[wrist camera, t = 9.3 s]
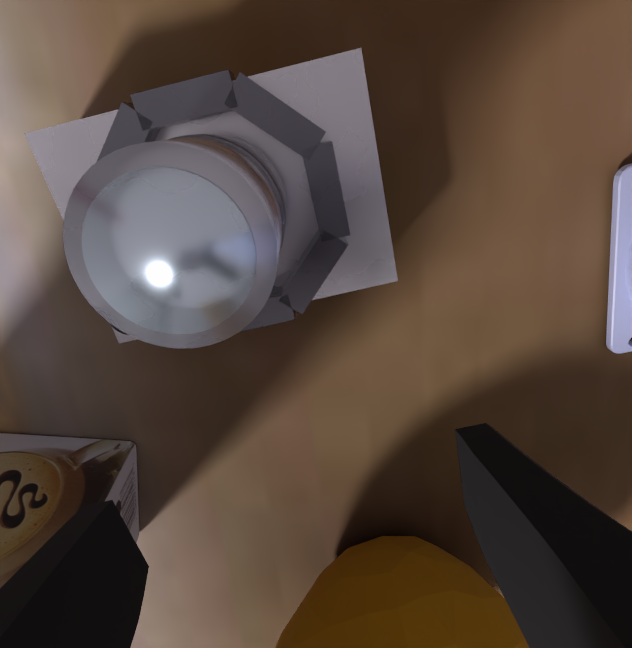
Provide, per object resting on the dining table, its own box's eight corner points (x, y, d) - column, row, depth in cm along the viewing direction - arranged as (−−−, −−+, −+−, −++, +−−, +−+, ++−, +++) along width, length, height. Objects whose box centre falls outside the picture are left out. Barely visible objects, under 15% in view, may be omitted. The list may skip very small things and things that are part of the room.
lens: (277, 124, 13) (261, 124, 7) (295, 259, 15) (293, 342, 9) (139, 141, 13) (20, 153, 8) (173, 273, 15) (96, 364, 9)
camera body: (348, 57, 15) (365, 34, 11) (383, 261, 18) (405, 294, 14) (69, 128, 16) (0, 127, 12) (146, 314, 19) (109, 360, 15)
